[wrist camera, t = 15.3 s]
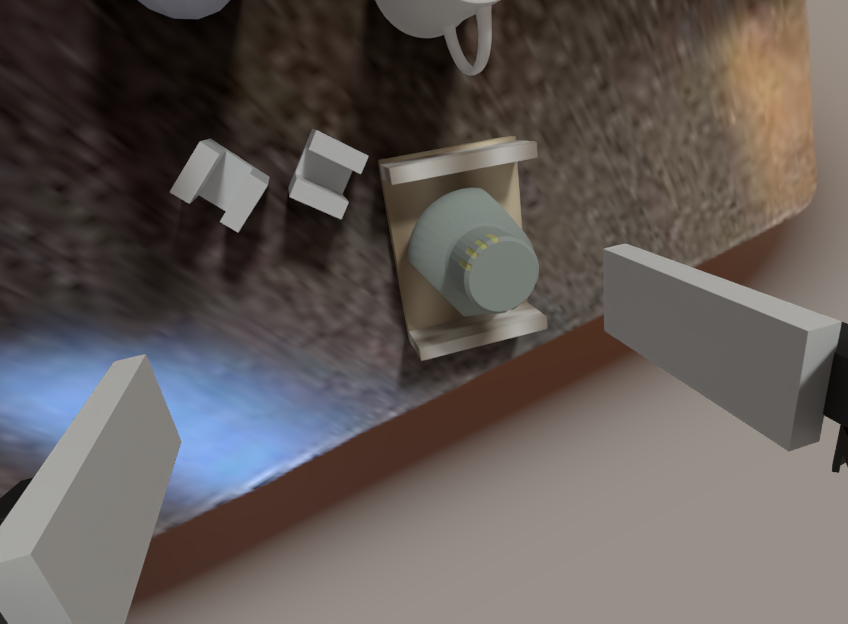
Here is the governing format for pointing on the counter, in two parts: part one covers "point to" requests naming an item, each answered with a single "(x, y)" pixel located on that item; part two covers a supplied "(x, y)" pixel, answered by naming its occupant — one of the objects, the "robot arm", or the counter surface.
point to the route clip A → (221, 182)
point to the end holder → (407, 200)
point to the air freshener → (474, 253)
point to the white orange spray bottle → (185, 7)
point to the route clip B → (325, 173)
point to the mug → (443, 24)
